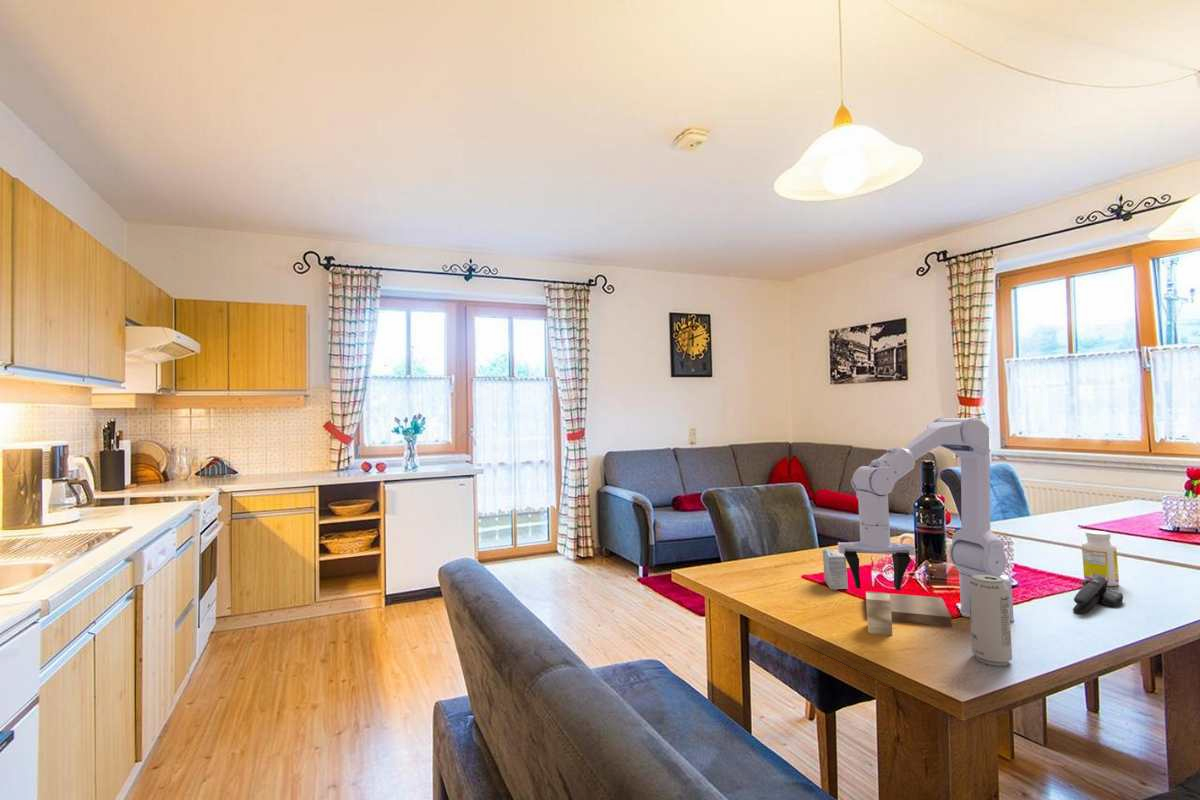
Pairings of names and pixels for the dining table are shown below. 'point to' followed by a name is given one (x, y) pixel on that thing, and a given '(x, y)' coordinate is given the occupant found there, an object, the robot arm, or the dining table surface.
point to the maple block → (879, 613)
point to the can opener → (1095, 595)
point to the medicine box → (835, 569)
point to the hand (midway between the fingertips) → (877, 588)
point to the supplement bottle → (1100, 557)
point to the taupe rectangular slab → (919, 609)
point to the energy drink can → (990, 619)
